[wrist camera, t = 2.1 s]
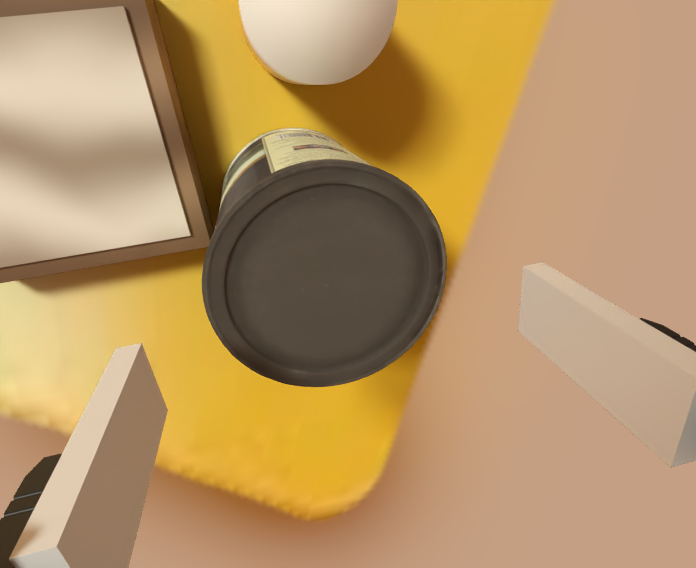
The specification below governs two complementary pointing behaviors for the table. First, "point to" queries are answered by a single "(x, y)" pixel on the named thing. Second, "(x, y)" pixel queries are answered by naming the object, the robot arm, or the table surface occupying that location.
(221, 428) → the table surface
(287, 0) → the cream egg shape
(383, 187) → the coffee can
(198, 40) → the table surface
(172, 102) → the picture frame
